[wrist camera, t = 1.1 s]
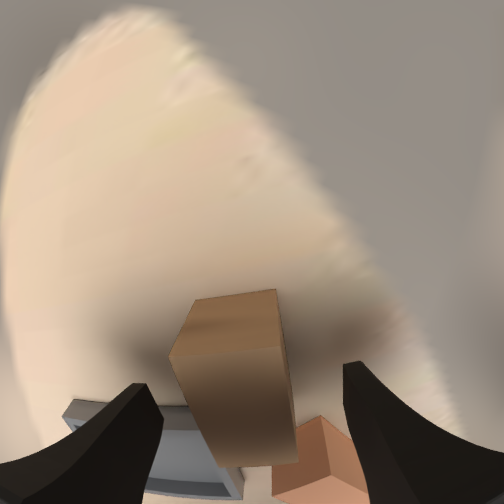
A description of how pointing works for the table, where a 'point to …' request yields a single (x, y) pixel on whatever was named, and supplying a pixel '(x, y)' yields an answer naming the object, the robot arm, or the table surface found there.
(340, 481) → the terracotta brick
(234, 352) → the walnut brick
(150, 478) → the tray
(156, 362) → the table surface
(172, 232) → the table surface
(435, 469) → the robot arm
